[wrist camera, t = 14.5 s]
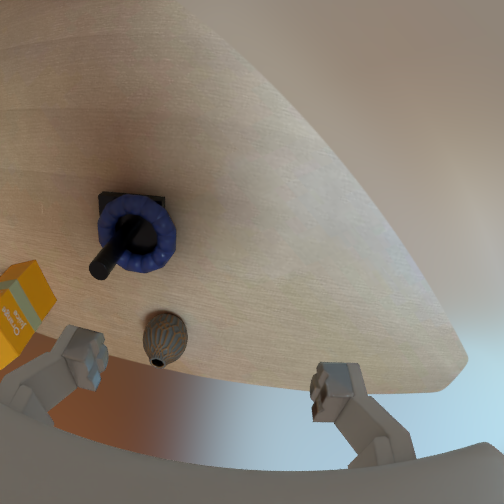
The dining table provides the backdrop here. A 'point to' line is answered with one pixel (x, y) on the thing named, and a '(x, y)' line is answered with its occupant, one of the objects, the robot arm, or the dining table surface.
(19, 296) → the orange juice
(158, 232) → the ring
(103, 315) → the dining table surface
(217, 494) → the robot arm
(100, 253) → the black post stand
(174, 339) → the vase
